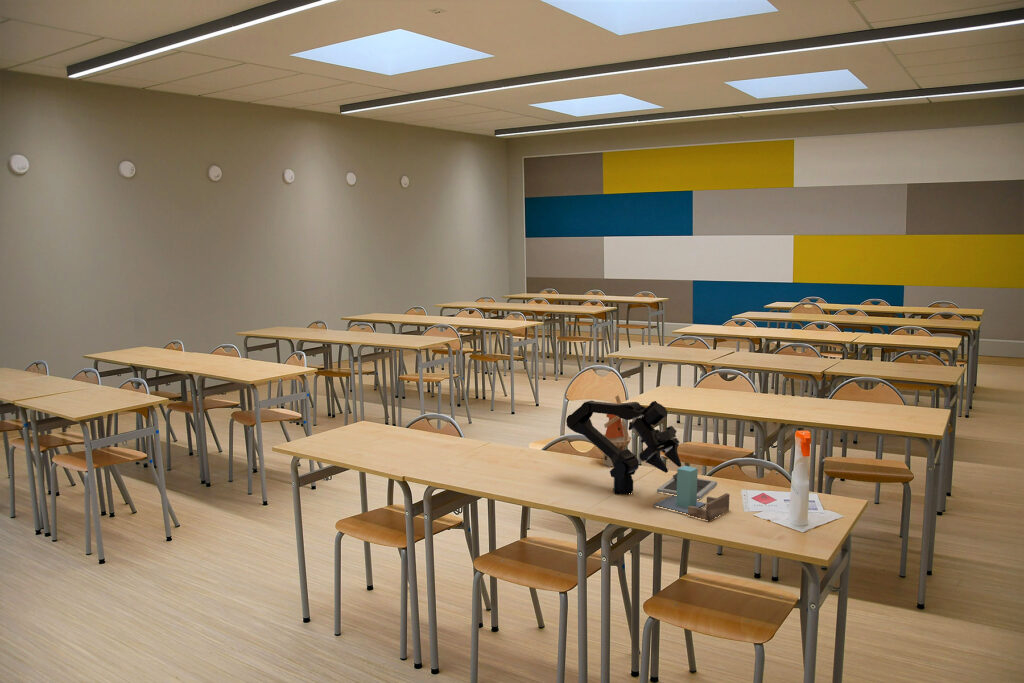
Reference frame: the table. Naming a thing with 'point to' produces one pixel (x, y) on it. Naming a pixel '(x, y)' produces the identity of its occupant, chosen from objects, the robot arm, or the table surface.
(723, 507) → the walnut slot rack
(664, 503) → the slate pad
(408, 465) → the table surface
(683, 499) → the teal block
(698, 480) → the picture frame
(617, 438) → the windmill
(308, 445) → the table surface
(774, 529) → the table surface
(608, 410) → the robot arm
